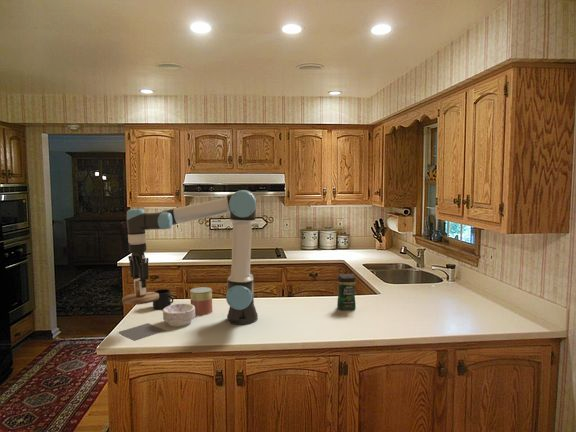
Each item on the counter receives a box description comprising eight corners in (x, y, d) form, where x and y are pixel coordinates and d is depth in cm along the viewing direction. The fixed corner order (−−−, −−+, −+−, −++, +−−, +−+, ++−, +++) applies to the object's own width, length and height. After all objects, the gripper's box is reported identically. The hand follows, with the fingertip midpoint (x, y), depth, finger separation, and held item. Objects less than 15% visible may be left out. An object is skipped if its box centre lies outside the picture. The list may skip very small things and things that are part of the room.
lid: (166, 298, 192) (164, 280, 191) (133, 306, 180) (132, 287, 179) (147, 292, 202) (146, 275, 201) (115, 300, 190) (114, 282, 189)
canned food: (209, 307, 228) (208, 286, 227) (215, 313, 218) (214, 290, 217) (188, 310, 223) (188, 288, 222) (193, 316, 213) (192, 293, 212)
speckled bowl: (179, 331, 193) (178, 314, 192) (156, 325, 201) (156, 309, 200) (202, 321, 206) (201, 305, 205) (180, 316, 214) (179, 301, 213)
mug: (168, 311, 223) (168, 294, 223) (149, 309, 227) (148, 293, 226) (178, 305, 232) (177, 290, 232) (159, 304, 236) (158, 288, 235)
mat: (166, 331, 193) (166, 330, 193) (134, 341, 181) (134, 340, 181) (147, 323, 203) (147, 323, 203) (116, 333, 191) (116, 332, 191)
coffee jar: (339, 311, 219) (339, 276, 217) (336, 306, 227) (335, 272, 225) (357, 310, 219) (357, 275, 218) (353, 305, 227) (353, 272, 226)
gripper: (155, 243, 186) (158, 294, 188) (135, 240, 197) (138, 289, 199) (139, 245, 180) (142, 298, 182) (120, 242, 191) (123, 292, 193)
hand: (140, 293), depth 191 cm, fingers closed on lid, 4 cm apart
